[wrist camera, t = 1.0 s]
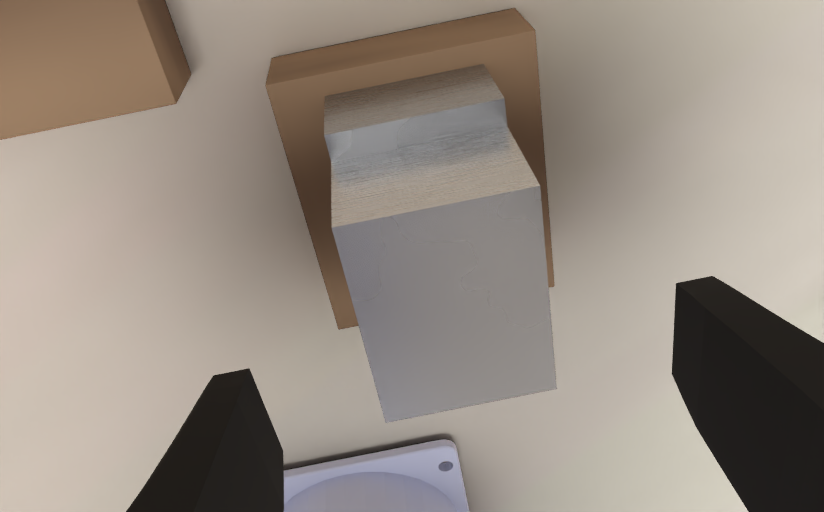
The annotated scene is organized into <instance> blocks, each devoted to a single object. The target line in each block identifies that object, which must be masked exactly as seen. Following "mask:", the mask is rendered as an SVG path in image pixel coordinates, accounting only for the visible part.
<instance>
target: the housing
mask: <svg viewBox="0 0 824 512" xmlns="http://www.w3.org/2000/svg"><path fill="white" fill-rule="evenodd" d="M324 137H325V141H326V144H327V148H328V152H329V156H330V160H331V214H332V231H333V235H334V238H335V242H336V245H337V249H338V253H339V256H340V260H341V263H342V267H343V271H344V274H345V278H346V281H347V285H348V289H349V292H350V296H351V299H352V303H353V307H354V310H355V314H356V317H357V321H358V325H359V328H360V332H361V335H362V339H363V342H364V346H365V350H366V353H367V357H368V360H369V364H370V368H371V371H372V375H373V378H374V382H375V386H376V389H377V393H378V396H379V400H380V404H381V407H382V411H383V414H384V418H385V422H386V423H387V422H393V421H398V420H403V419H408V418H413V417H418V416H423V415H428V414H433V413H438V412H443V411H448V410H453V409H458V408H463V407H468V406H473V405H478V404H483V403H488V402H493V401H498V400H503V399H508V398H513V397H518V396H523V395H528V394H533V393H538V392H543V391H549V390H554V389H557V387H556V374H555V362H554V350H553V337H552V325H551V313H550V300H549V288H548V276H547V263H546V251H545V239H544V227H543V214H542V202H541V190H540V184H539V183H538V181H537V179H536V177H535V175H534V174H533V172H532V170H531V168H530V166H529V165H528V163H527V161H526V159H525V157H524V156H523V154H522V152H521V150H520V148H519V147H518V145H517V143H516V141H515V139H514V138H513V136H512V134H511V132H510V130H509V129H508V127H507V118H506V109H505V99H504V97H503V95H502V93H501V92H500V90H499V88H498V87H497V85H496V83H495V82H494V80H493V78H492V77H491V75H490V73H489V72H488V70H487V68H486V67H485V65H484V64H480V65H475V66H470V67H465V68H460V69H455V70H450V71H445V72H440V73H436V74H431V75H426V76H421V77H416V78H411V79H406V80H401V81H396V82H392V83H387V84H382V85H377V86H372V87H367V88H362V89H357V90H352V91H347V92H343V93H338V94H333V95H328V96H325V109H324Z"/></svg>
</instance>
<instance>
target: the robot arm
mask: <svg viewBox="0 0 824 512" xmlns="http://www.w3.org/2000/svg"><path fill="white" fill-rule="evenodd" d="M672 375H673V377H674V380H675V382H676V384H677V386H678V389H679V391H680V393H681V395H682V398H683V400H684V402H685V404H686V406H687V409H688V411H689V413H690V415H691V417H692V419H693V421H694V423H695V425H696V427H697V429H698V431H699V432H700V434H701V436H702V437H703V439H704V441H705V442H706V444H707V446H708V447H709V449H710V450H711V452H712V454H713V455H714V457H715V459H716V460H717V462H718V463H719V465H720V467H721V468H722V470H723V471H724V473H725V475H726V476H727V478H728V479H729V481H730V483H731V484H732V486H733V487H734V489H735V491H736V492H737V494H738V495H739V497H740V499H741V500H742V502H743V503H744V505H745V507H746V508H747V510H748V511H749V512H824V343H823V342H821V341H819V340H817V339H816V338H814V337H812V336H811V335H809V334H807V333H805V332H804V331H802V330H800V329H799V328H797V327H795V326H794V325H792V324H790V323H789V322H787V321H785V320H784V319H782V318H781V317H779V316H777V315H776V314H774V313H772V312H771V311H769V310H768V309H766V308H764V307H763V306H761V305H759V304H758V303H756V302H755V301H753V300H751V299H750V298H748V297H747V296H745V295H743V294H742V293H740V292H739V291H737V290H735V289H734V288H732V287H730V286H729V285H727V284H725V283H724V282H722V281H720V280H719V279H717V278H715V277H713V276H710V277H705V278H700V279H695V280H690V281H685V282H680V283H676V297H675V319H674V341H673V362H672ZM444 461H448V462H446V463H442V462H444ZM126 512H469V507H468V502H467V497H466V492H465V487H464V482H463V477H462V472H461V468H460V463H459V458H458V453H457V448H456V445H455V443H453V442H452V441H450V440H446V439H443V440H436V441H431V442H426V443H421V444H416V445H411V446H406V447H401V448H396V449H391V450H386V451H381V452H375V453H370V454H365V455H360V456H355V457H350V458H345V459H340V460H335V461H330V462H325V463H320V464H315V465H310V466H305V467H300V468H295V469H290V470H285V471H284V469H283V450H282V447H281V445H280V442H279V440H278V437H277V435H276V433H275V430H274V428H273V425H272V423H271V420H270V418H269V415H268V413H267V411H266V408H265V406H264V403H263V401H262V398H261V396H260V393H259V391H258V389H257V386H256V384H255V381H254V379H253V376H252V374H251V372H250V369H244V370H239V371H234V372H229V373H224V374H219V375H214V376H213V377H212V379H211V380H210V382H209V383H208V385H207V386H206V388H205V390H204V391H203V393H202V394H201V396H200V398H199V399H198V401H197V403H196V404H195V406H194V408H193V409H192V411H191V413H190V414H189V416H188V418H187V419H186V421H185V423H184V424H183V426H182V427H181V429H180V431H179V432H178V434H177V436H176V437H175V439H174V440H173V442H172V444H171V445H170V447H169V448H168V450H167V452H166V453H165V455H164V456H163V458H162V459H161V461H160V462H159V464H158V466H157V467H156V469H155V470H154V472H153V473H152V475H151V476H150V478H149V480H148V481H147V483H146V484H145V486H144V487H143V489H142V490H141V491H140V493H139V494H138V496H137V497H136V499H135V500H134V501H133V503H132V504H131V506H130V507H129V508H128V510H127V511H126Z"/></svg>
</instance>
